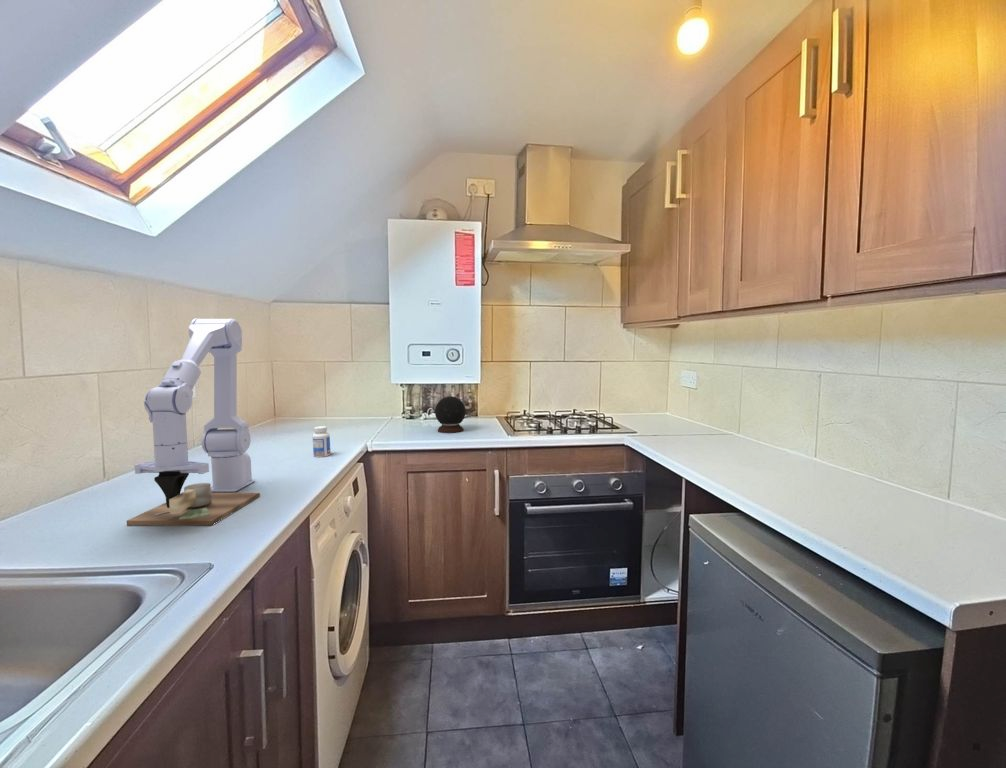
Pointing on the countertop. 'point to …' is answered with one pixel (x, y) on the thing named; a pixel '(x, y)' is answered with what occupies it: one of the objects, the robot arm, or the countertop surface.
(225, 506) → the base
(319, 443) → the pill bottle
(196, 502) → the beige elongated block piece
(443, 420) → the black ball on stand
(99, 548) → the countertop surface
